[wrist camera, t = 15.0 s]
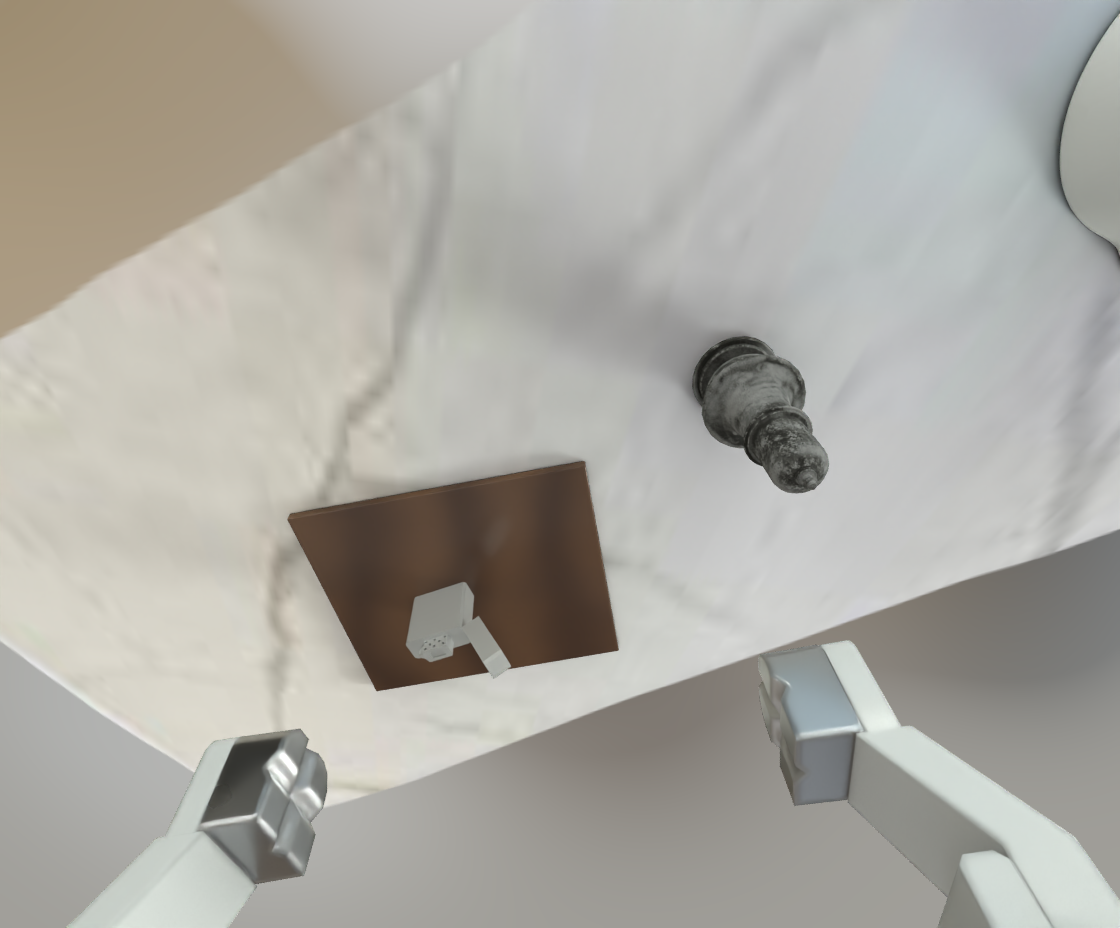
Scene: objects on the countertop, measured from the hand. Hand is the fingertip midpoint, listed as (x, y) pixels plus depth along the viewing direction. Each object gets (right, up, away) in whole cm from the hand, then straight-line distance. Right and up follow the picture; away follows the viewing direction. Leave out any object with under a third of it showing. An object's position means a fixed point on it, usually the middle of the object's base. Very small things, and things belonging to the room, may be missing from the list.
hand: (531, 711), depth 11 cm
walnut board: (-6, -5, +35) cm, 36 cm away
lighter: (-7, -5, +35) cm, 36 cm away
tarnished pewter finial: (+11, +10, +28) cm, 31 cm away
